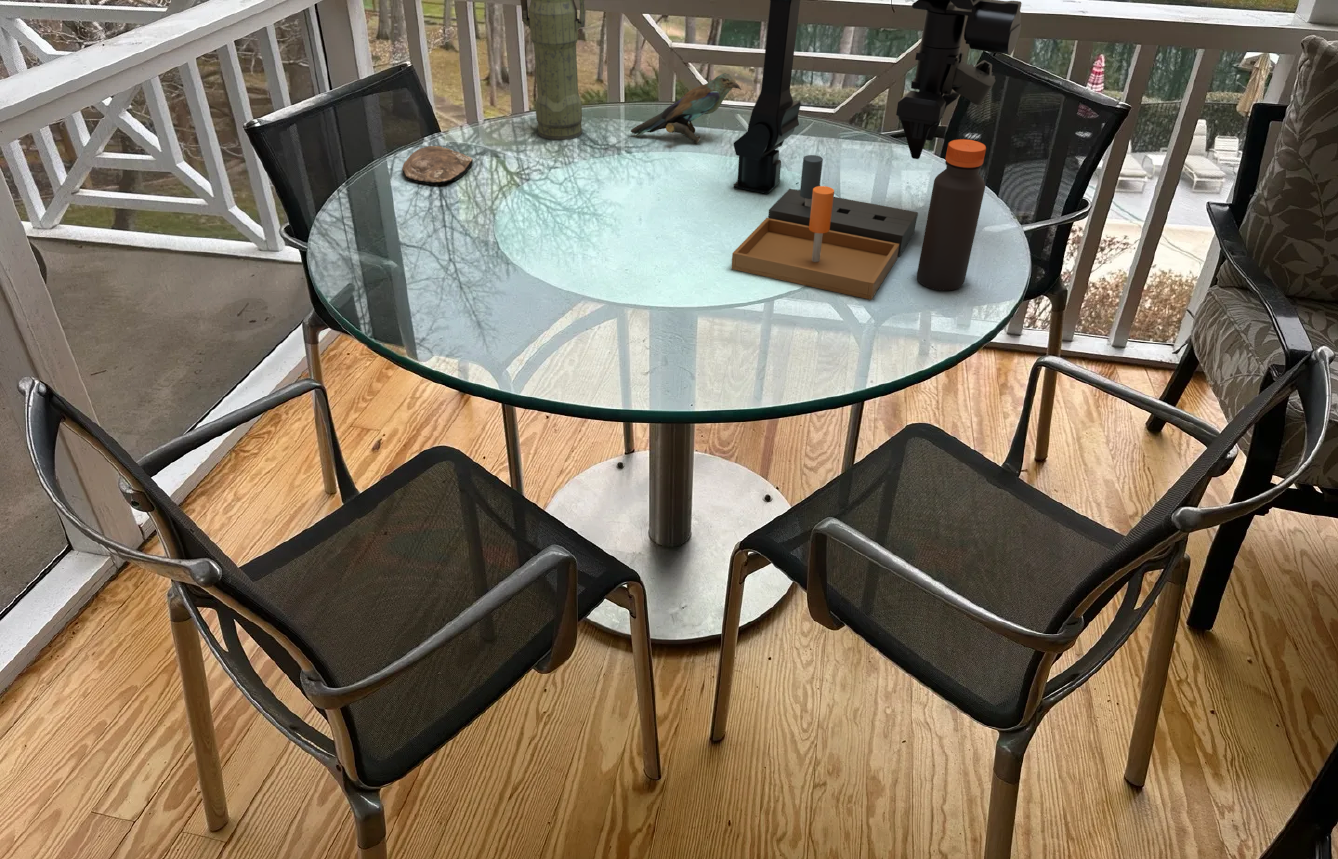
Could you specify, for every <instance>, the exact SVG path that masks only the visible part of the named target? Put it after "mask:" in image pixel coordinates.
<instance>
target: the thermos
mask: <svg viewBox="0 0 1338 859" xmlns="http://www.w3.org/2000/svg"><path fill="white" fill-rule="evenodd" d="M585 5H586V4H585V0H579V18H578V8H577V5H576V2H575V0H530V4H529V8H528V0H520V8H521V9H520V10H521V21H522V22H523V24H524V25H525V26H526V27H528V29H530V30H529V31H530V32H529V33H530V40H531V42H532V44H533V49H534V52H533V53H534V64H535V77H536V92H537V98H536V102H535V115H536V116H535V117H536V122H537V128H538V129H537V133H538V135H539V137H542V138H544V139H547V140H554V141H565V140H571V139H575V138H578V137H580V136H582V133H583V127H582V120H583V107H582V105H583V104H582V100H581V96H580V94H579V80H578V79H579V78H578V60H577V59H578V58H577V56H578V54H577V42H578V41H579V40H578V39H579V29H580V28H584V27H585V23H586V6H585Z"/></svg>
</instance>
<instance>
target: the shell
mask: <svg viewBox="0 0 1338 859" xmlns="http://www.w3.org/2000/svg"><path fill="white" fill-rule="evenodd" d="M473 161H474V160H473V158H472V157H471V156H469V155H466V154H464V153H461V152H460V151H455V150H453V149H451V148H448V147H443V146H441V145H428V146H425V147H424V146H423V147H421V148H419V149H417V150H415V151H414V152H412V153H411V154H410V155H409V157H408V158H406V160H405V161H404V163H403V164H402V168H401V171H402V174H403V176H404V178H405V180H407V181H410V182H412V183H419V184H422V185H430V186H442V185H445V184H447V183H448V182H452V181H457V180H459V179H460V178H461V177H463V176H464V175H466V174H467V173H468V171H469V170H470V169H471V167H472V166H473Z"/></svg>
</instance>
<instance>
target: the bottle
mask: <svg viewBox="0 0 1338 859" xmlns="http://www.w3.org/2000/svg"><path fill="white" fill-rule="evenodd" d="M986 151H987V147H986V145H985V144H984V143H982V142H980V141H977V140H972V139H960V138H959V139H953V140H951V141H949V142H948V143H947V149H946V154H945V158H944V159H945V161H944V164H945V165H946V167H945V169H943V171H941V172H940V173H939V174H937V175H936V176H935V178H934V180H933V185H932V191H931V195H930V201H929V206H928V212H927V216H926V217H927V218H926V222H925V228H924V234H923V239H922V244H921V250H920V254H919V255H920V256H919V261H918V265H917V266H918V267H917V271H916V279H917V281H918V282H919V283H920V284H921V285H923V286H924V287H926V288H928V289H932V290H936V291H942V292H943V291H944V292H947V291H954V290H958V289H959V288H961V287H963V285H964V284H965V282H966V278H967V272H968V269H969V268H968V267H969V264H970V259H971V255H972V249H973V245H974V242H975V241H974V240H975V236H976V231H977V226H978V222H979V217H980V213H981V209H982V204H983V200H984V195H985V190H986V182H985V180H984V179H983V177H982V176H981V174H980V169H981V168H983V164H984V161H985V155H986Z"/></svg>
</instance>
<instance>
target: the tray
mask: <svg viewBox="0 0 1338 859" xmlns="http://www.w3.org/2000/svg"><path fill="white" fill-rule="evenodd" d="M814 234H815V233H814V232H812V231H810V230H809V226H806V225H801V224H796V223H791V222H786V221H781V220H776V219H770V218H768V217H766V218H765V219H763V221H762V222H761V223H760V224H759V225H758V226H757V227H756V228H755V229H754V230H753V231H752V232H751V233H750V234H749V235H748V236H747V238H745V239H744V241H743V242H741V243H740V245H739V246H738V247H737V248H736V249H735V250H734V251H733V252H732V254H731V270H734V271H738V272H743V273H747V274H752V275H755V276H756V275H757V276H761V277H765V278H770V279H775V280H780V281H784V282H788V283H792V284H797V285H802V286H807V287H810V288H812V287H813V288H816V289H821V290H826V291H829V292H835V293H839V294H843V295H847V296H852V297H857V298H862V299H865V300H870V301H872V300H873V298H874V297H875V295H876V293H877V291H878V289H880V288H881V286H882V283H883V282H884V280H885V279H886V277H887V276H888V274H889V273H890V271H891V270H892V268H893V267H894V265H895V263H896V262H897V260H898V257H897V256H898V250H899V244H898V243H892V242H887V241H882V240H877V239H872V238H867V237H862V236H857V235H852V234H847V233H842V232H837V231H831V230H829V232H827V233H823V237H822V245H821V254H820V261H819V262H813V261H812V252H813V243H814Z"/></svg>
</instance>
